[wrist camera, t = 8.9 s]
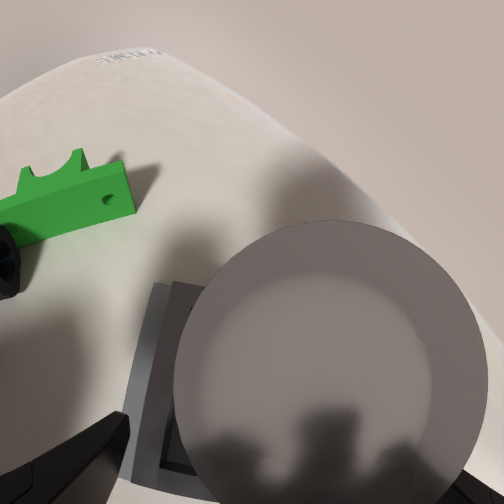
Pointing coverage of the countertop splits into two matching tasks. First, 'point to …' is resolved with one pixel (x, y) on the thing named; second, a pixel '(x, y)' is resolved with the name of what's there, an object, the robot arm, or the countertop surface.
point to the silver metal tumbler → (330, 372)
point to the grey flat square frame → (141, 379)
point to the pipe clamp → (66, 200)
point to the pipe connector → (8, 265)
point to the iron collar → (166, 407)
